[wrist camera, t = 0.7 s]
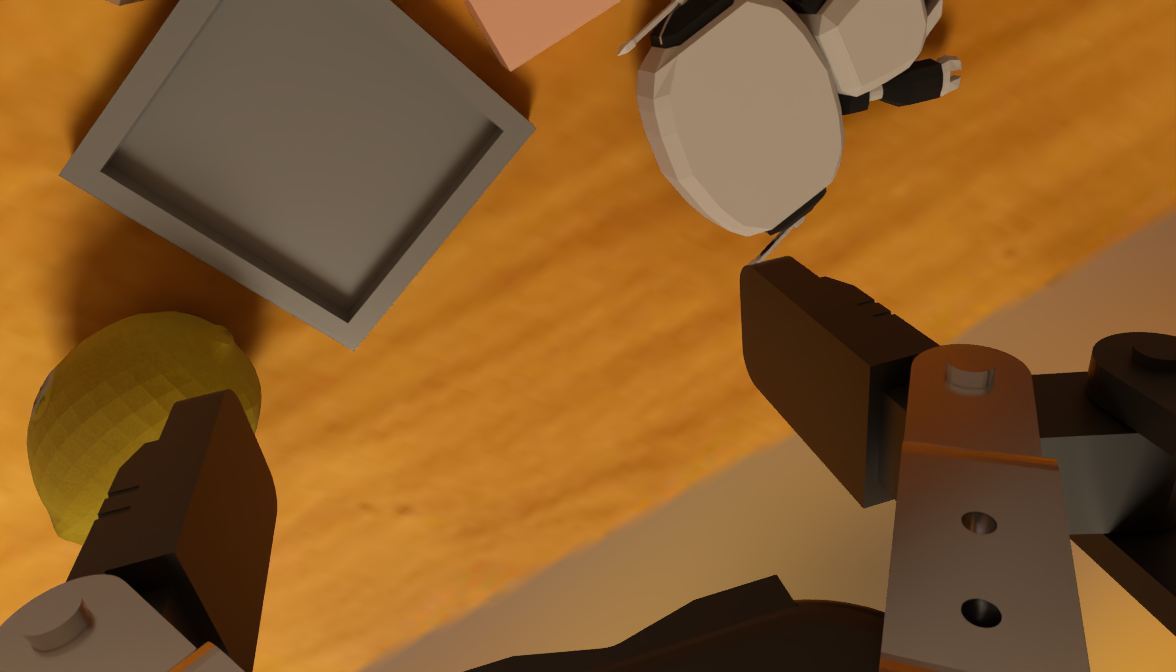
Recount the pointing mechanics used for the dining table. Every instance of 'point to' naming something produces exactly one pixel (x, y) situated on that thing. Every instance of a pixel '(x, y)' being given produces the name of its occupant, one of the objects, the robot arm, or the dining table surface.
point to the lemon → (124, 405)
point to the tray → (301, 149)
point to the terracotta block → (530, 24)
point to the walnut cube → (122, 2)
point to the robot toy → (774, 97)
